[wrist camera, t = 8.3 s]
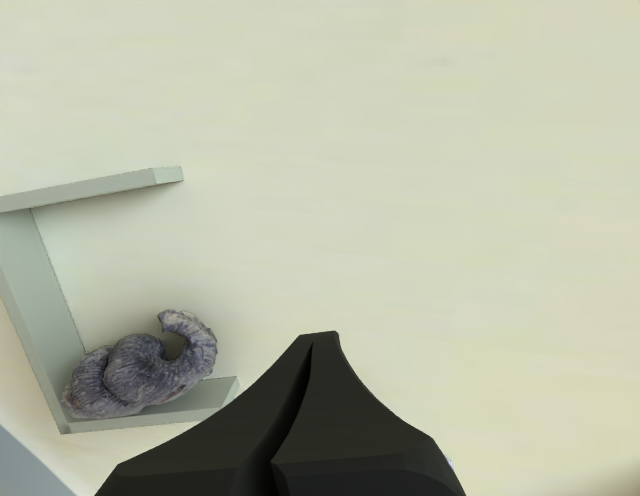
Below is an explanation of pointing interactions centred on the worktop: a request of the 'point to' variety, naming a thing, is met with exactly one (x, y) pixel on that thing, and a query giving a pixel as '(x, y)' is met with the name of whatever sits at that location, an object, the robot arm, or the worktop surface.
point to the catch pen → (54, 317)
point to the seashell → (140, 371)
